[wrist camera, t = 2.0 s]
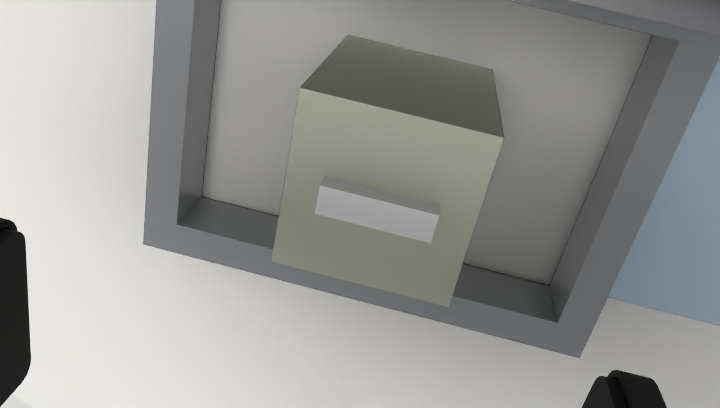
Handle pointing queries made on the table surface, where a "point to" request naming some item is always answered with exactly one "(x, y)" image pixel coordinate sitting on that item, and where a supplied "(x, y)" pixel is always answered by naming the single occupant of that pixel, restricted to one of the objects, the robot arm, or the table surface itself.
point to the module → (388, 168)
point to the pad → (682, 226)
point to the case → (474, 285)
